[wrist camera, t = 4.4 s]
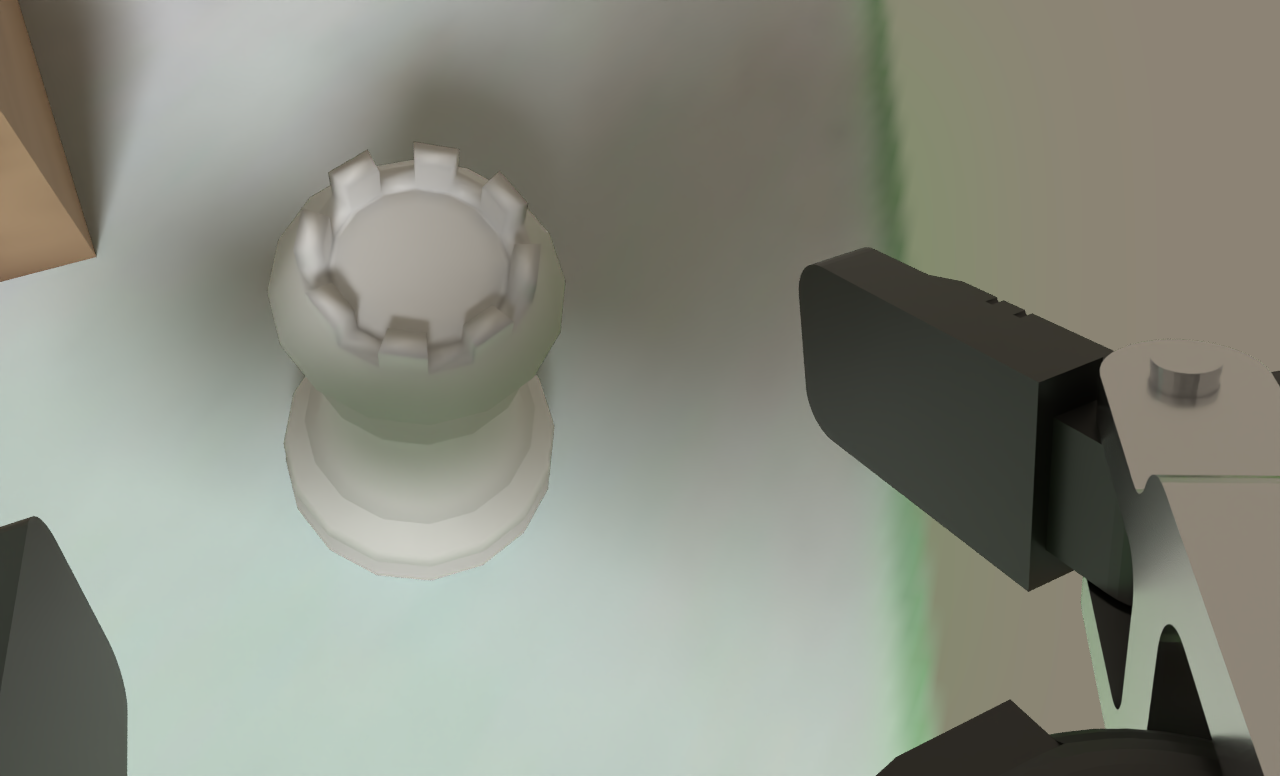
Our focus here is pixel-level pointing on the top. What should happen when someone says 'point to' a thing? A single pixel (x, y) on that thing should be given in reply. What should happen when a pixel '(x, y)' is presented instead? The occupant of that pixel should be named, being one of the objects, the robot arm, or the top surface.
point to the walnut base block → (32, 166)
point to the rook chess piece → (417, 362)
